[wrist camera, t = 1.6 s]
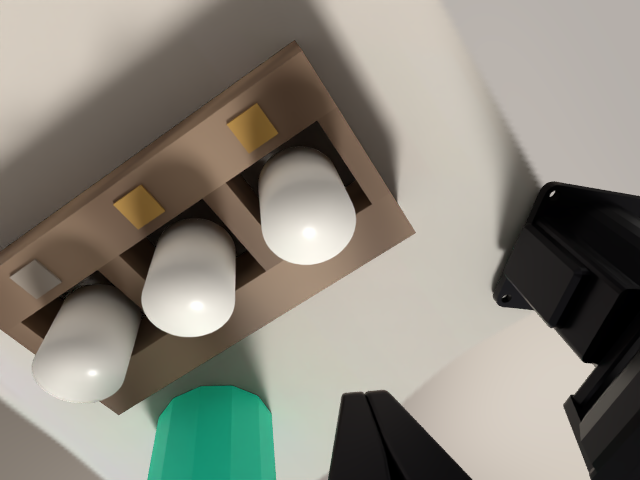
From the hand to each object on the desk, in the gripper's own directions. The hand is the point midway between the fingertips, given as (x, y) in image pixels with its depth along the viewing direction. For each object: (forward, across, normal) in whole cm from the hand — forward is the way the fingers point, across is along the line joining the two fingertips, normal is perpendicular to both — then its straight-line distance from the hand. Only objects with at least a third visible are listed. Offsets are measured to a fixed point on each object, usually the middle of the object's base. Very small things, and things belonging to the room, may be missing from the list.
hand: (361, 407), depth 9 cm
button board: (+12, +4, +3) cm, 13 cm away
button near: (+11, 0, 0) cm, 11 cm away
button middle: (+11, +4, +3) cm, 12 cm away
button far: (+11, +8, +5) cm, 14 cm away
